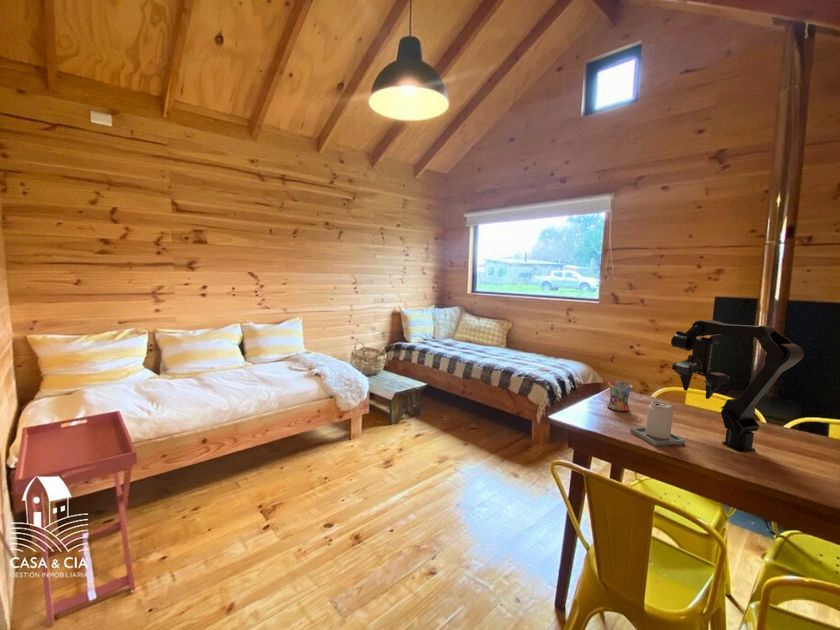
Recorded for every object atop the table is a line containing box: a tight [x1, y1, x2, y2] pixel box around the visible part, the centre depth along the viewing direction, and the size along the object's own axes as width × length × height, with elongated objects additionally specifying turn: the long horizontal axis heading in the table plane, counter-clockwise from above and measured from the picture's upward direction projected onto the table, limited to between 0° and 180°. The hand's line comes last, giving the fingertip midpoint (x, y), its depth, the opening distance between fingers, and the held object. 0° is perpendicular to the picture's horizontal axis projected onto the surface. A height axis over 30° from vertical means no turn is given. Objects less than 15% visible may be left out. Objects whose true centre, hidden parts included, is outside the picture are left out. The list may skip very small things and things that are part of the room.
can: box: [645, 400, 674, 440], centre depth 135 cm, size 8×8×12 cm
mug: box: [606, 380, 634, 412], centre depth 164 cm, size 12×9×11 cm
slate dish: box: [630, 426, 686, 448], centre depth 136 cm, size 12×12×2 cm
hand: (696, 394), depth 144 cm, fingers open, 9 cm apart
